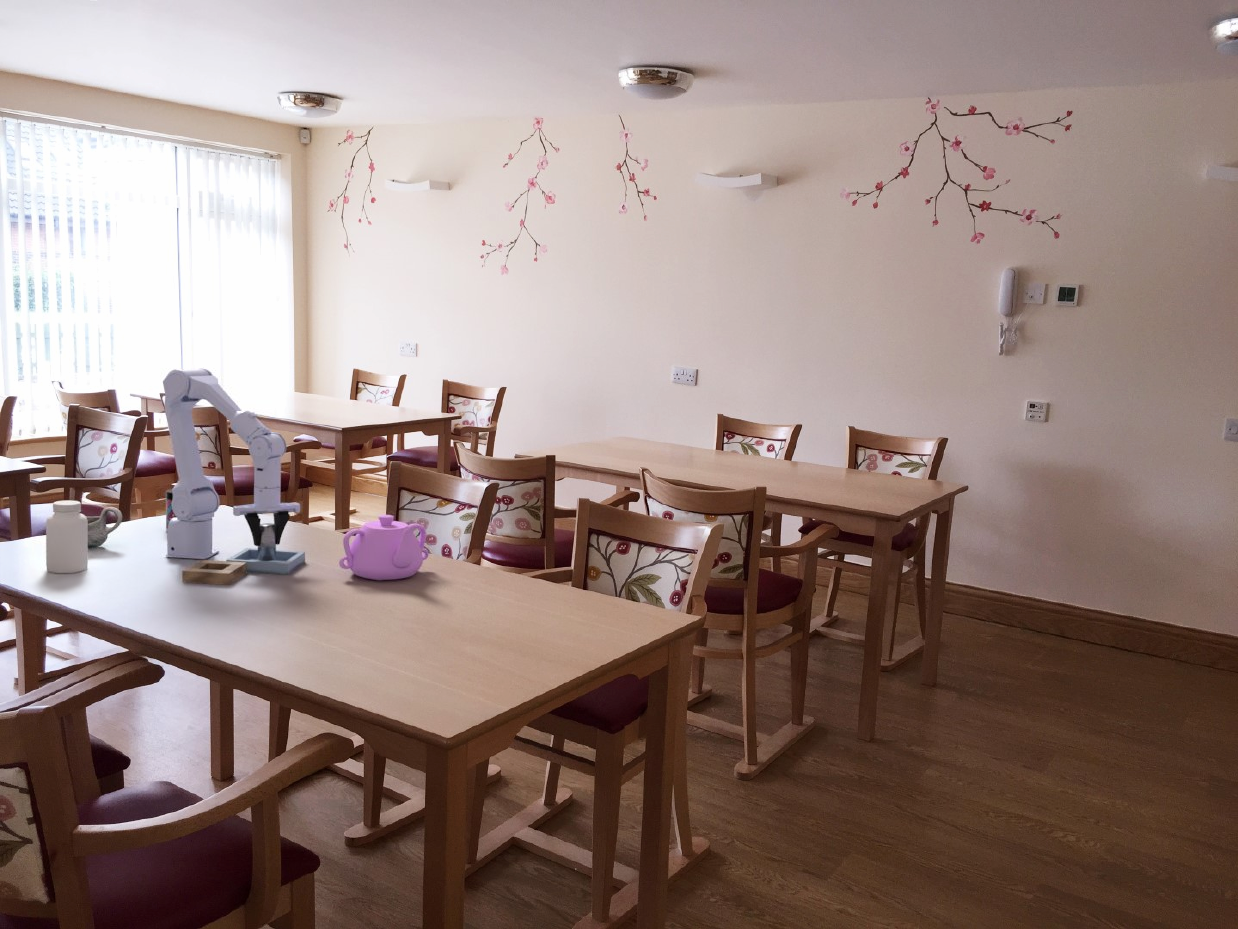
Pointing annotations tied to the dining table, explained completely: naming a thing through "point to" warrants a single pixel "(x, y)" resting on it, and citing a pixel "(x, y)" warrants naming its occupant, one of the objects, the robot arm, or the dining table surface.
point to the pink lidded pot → (384, 549)
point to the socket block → (214, 572)
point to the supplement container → (169, 507)
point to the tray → (280, 565)
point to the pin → (267, 542)
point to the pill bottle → (66, 538)
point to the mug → (101, 527)
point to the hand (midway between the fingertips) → (266, 544)
